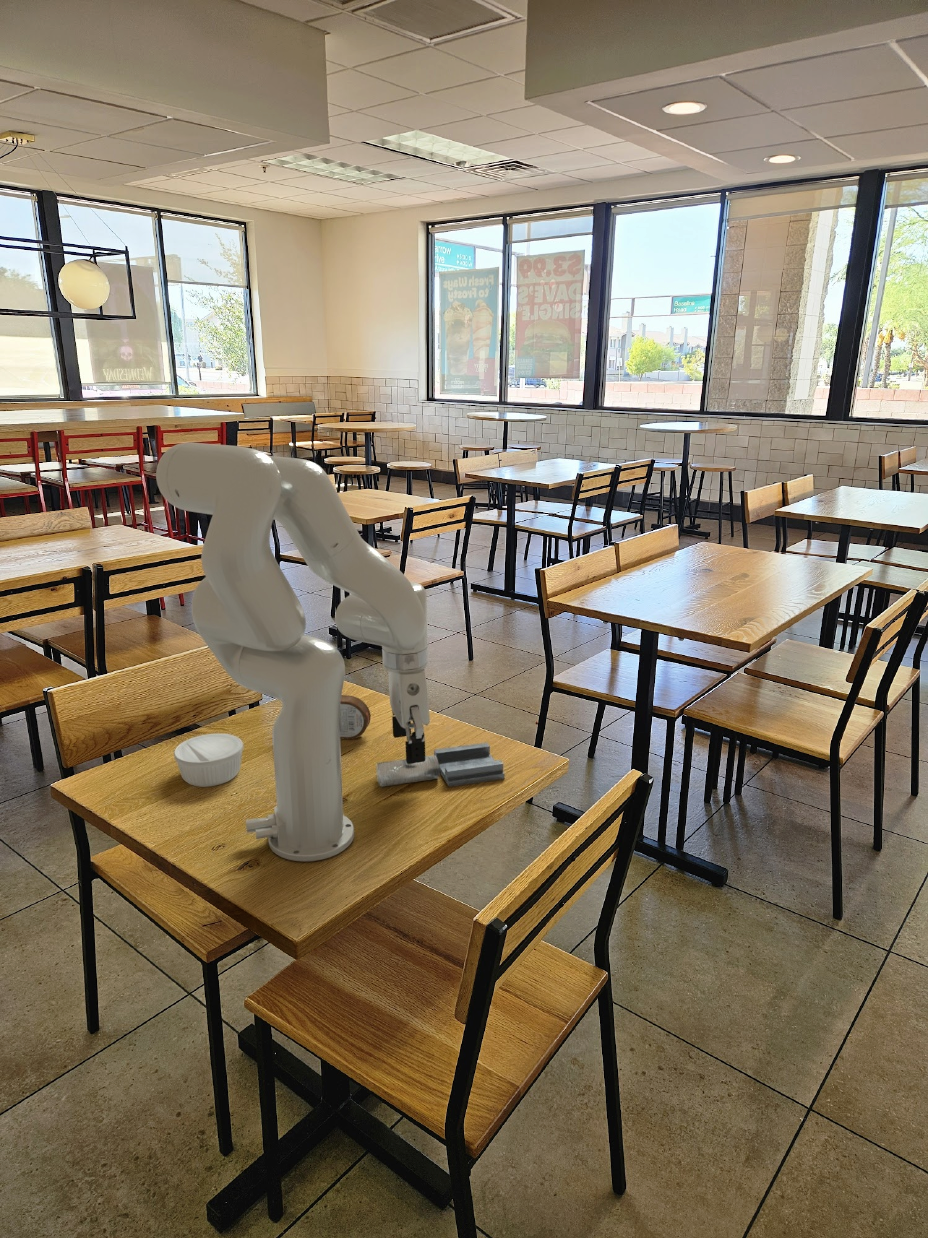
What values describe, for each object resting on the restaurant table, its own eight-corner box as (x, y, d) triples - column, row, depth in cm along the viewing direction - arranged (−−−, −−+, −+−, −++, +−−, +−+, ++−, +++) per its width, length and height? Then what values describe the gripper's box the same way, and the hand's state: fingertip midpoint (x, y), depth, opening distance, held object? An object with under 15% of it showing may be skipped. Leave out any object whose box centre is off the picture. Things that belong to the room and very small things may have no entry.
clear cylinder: (378, 788, 137) (382, 785, 133) (375, 764, 138) (379, 761, 135) (435, 780, 140) (440, 777, 136) (431, 757, 141) (437, 753, 138)
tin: (371, 735, 155) (370, 694, 152) (368, 742, 152) (366, 701, 149) (294, 731, 156) (292, 690, 154) (289, 738, 153) (287, 697, 151)
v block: (448, 787, 136) (448, 773, 135) (432, 760, 145) (432, 747, 144) (504, 778, 139) (504, 765, 138) (485, 753, 148) (485, 740, 147)
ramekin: (163, 784, 136) (159, 756, 134) (202, 755, 146) (199, 729, 144) (221, 795, 133) (218, 766, 131) (257, 765, 143) (255, 737, 141)
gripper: (441, 673, 127) (443, 769, 132) (414, 636, 142) (417, 724, 148) (394, 679, 124) (399, 777, 130) (372, 641, 140) (377, 730, 146)
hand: (408, 748), depth 139 cm, fingers open, 9 cm apart
